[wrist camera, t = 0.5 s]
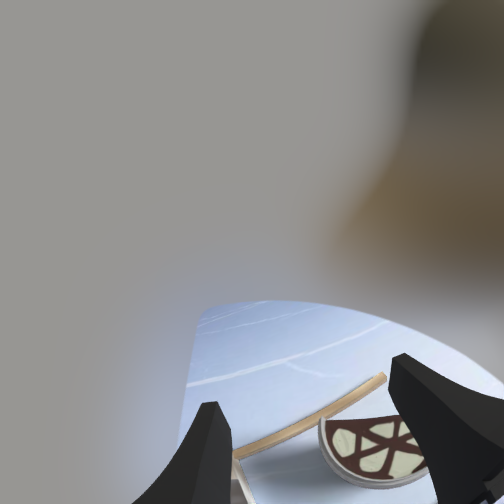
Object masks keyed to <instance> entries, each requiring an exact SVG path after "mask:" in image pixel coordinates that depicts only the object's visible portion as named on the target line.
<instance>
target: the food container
mask: <svg viewBox="0 0 504 504" xmlns="http://www.w3.org/2000/svg"><path fill="white" fill-rule="evenodd" d="M318 439H319V445H320V448H321V452H322V454H323V456H324V458H325V460H326V462H327V463H328V465H329V466H330V467H331V469H332V470H333V471H334V472H335V473H336V474H338V475H339V476H340V477H341V478H343V479H344V480H346V481H348V482H349V483H351V484H354V485H357V486H360V487H363V488H369V489H391V488H397V487H401V486H404V485H407V484H410V483H412V482H414V481H416V480H418V479H420V478H422V477H424V476H425V475H427V474H428V473H429V470H428V467H427V464H426V462H425V460H424V457H423V455H422V452H421V450H420V448H419V446H418V444H417V443H416V441H415V439H414V437H413V436H412V434H411V433H410V431H409V429H408V428H407V426H406V424H405V423H404V421H403V419H402V418H401V416H400V415H392V416H385V417H378V418H368V419H353V420H326V419H325V418H324V417H323V416H321V418H319V422H318Z"/></svg>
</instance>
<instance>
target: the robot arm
mask: <svg viewBox="0 0 504 504" xmlns="http://www.w3.org/2000/svg"><path fill="white" fill-rule="evenodd" d="M388 391H389V394H390V396H391V398H392V401H393V403H394V405H395V407H396V409H397V411H398V413H399V414H400V416H401V418H402V419H403V421H404V423H405V424H406V426H407V428H408V429H409V431H410V433H411V434H412V436H413V437H414V439H415V441H416V443H417V444H418V446H419V448H420V450H421V452H422V455H423V457H424V460H425V462H426V464H427V467H428V470H429V473H430V476H431V478H432V482H433V485H434V488H435V492H436V495H437V500H438V504H504V400H503V399H499V398H495V397H491V396H488V395H484V394H481V393H479V392H476V391H473V390H471V389H468V388H466V387H464V386H461V385H459V384H457V383H455V382H453V381H451V380H449V379H447V378H445V377H444V376H442V375H440V374H438V373H437V372H435V371H433V370H432V369H430V368H428V367H427V366H425V365H423V364H422V363H420V362H419V361H417V360H415V359H414V358H412V357H411V356H409V355H407V354H406V353H403V354H401V355H398V356H396V357H393V358H392V364H391V372H390V380H389V387H388ZM232 451H233V450H232V437H231V429H230V427H229V425H228V423H227V421H226V419H225V416H224V414H223V412H222V410H221V408H220V406H219V404H218V402H217V401H215V402H206V403H202V404H201V406H200V408H199V410H198V412H197V414H196V417H195V419H194V421H193V423H192V425H191V427H190V429H189V431H188V432H187V434H186V436H185V438H184V440H183V442H182V443H181V445H180V447H179V448H178V450H177V452H176V453H175V455H174V456H173V458H172V460H171V461H170V462H169V464H168V465H167V467H166V468H165V469H164V471H163V472H162V473H161V474H160V476H159V477H158V478H157V479H156V480H155V482H154V483H153V484H152V485H151V486H150V487H149V488H148V489H147V490H146V491H145V492H144V494H142V495H141V496H140V497H139V498H138V499H137V500H136V501H134V502H133V503H132V504H231V501H230V491H231V472H232Z"/></svg>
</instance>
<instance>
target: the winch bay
mask: <svg viewBox="0 0 504 504" xmlns="http://www.w3.org/2000/svg"><path fill="white" fill-rule="evenodd" d="M386 381H387V376H386V375H385V374H384V373H383V372H380V373H379V374H378V375H376V376H375V377H373V378H372V379H370V380H369V381H367V382H366V383H364V384H363V385H361V386H360V387H358V388H357V389H355V390H354V391H352V392H351V393H349V394H347V395H346V396H344V397H343V398H341V399H339V400H338V401H336V402H334V403H332V404H331V405H329V406H327V407H326V408H324V409H322V410H320V411H318V412H317V413H315V414H313V415H311V416H309V417H307V418H305V419H303V420H301V421H300V422H298V423H296V424H294V425H292V426H289V427H287V428H285V429H283V430H281V431H279V432H277V433H275V434H272V435H270V436H268V437H266V438H263V439H261V440H259V441H256V442H254V443H251V444H249V445H246V446H244V447H241V448H239V449H236V450H233V451H232V472H231V491H230V501H231V504H256V502H255V500H254V498H253V495H252V493H251V490H250V488H249V485H248V483H247V480H246V478H245V475H244V473H243V470H242V468H241V465H240V462H239V460H240V459H243V458H245V457H248V456H251V455H253V454H256V453H258V452H261V451H263V450H266V449H268V448H270V447H273V446H275V445H277V444H279V443H282V442H284V441H286V440H288V439H290V438H292V437H294V436H296V435H298V434H300V433H302V432H304V431H306V430H308V429H310V428H312V427H314V426H316V425H318V422H319V418H321V416H323V417H324V418H325V419H326V420H327V419H329V418H330V417H332V416H334V415H336V414H337V413H339V412H341V411H342V410H344V409H346V408H347V407H349V406H351V405H352V404H354V403H355V402H357V401H359V400H360V399H362V398H363V397H365V396H366V395H368V394H369V393H371V392H372V391H374V390H375V389H376V388H378V387H379V386H381V385H382V384H384V383H385V382H386Z"/></svg>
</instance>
